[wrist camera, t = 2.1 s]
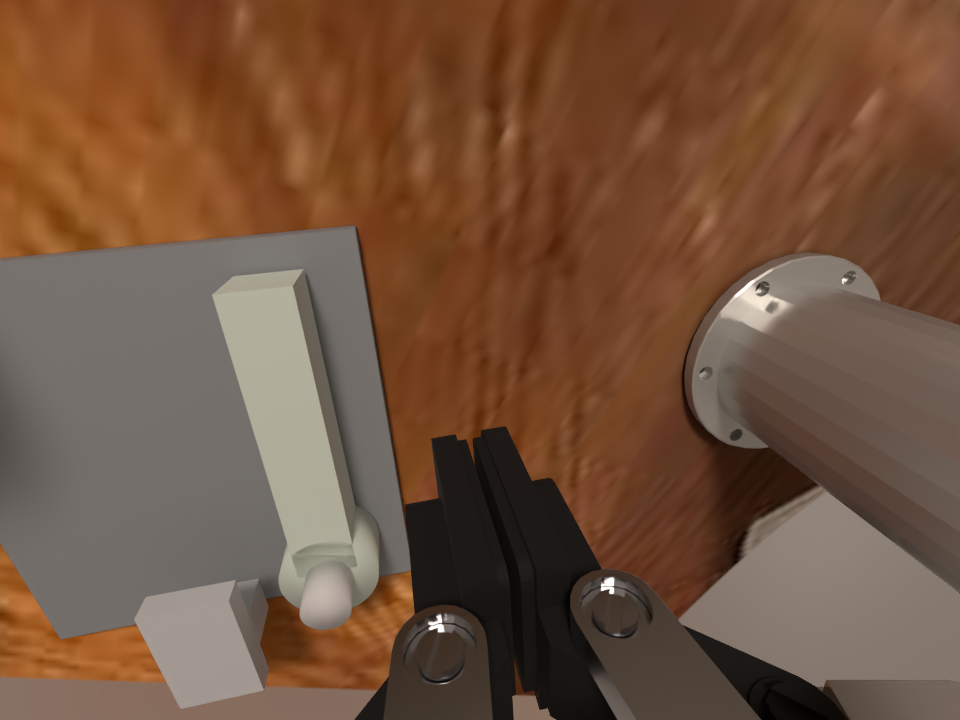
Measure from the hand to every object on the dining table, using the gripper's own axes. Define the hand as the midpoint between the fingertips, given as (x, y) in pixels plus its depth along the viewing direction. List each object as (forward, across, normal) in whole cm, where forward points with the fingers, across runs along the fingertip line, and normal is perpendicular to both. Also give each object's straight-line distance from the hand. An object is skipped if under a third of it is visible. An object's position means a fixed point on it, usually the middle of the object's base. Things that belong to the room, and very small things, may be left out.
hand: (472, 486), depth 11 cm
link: (+14, +6, +7) cm, 17 cm away
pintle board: (+15, +12, +7) cm, 21 cm away
